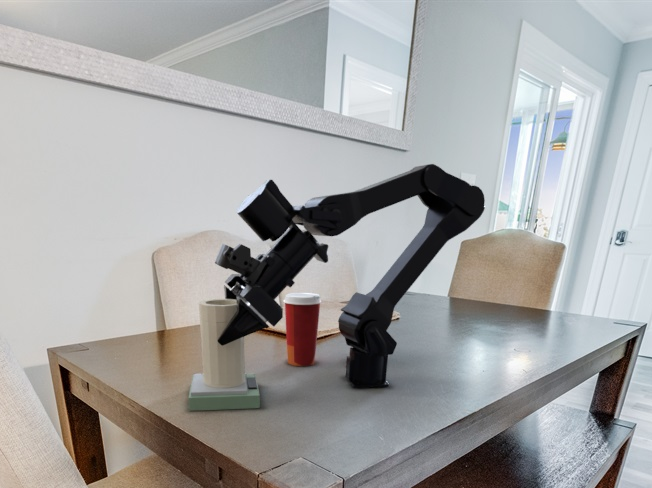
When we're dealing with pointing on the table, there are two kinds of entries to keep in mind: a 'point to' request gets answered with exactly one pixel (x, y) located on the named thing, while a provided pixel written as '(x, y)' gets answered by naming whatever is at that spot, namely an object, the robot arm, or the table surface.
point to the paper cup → (301, 327)
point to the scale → (223, 395)
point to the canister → (220, 361)
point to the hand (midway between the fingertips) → (215, 336)
